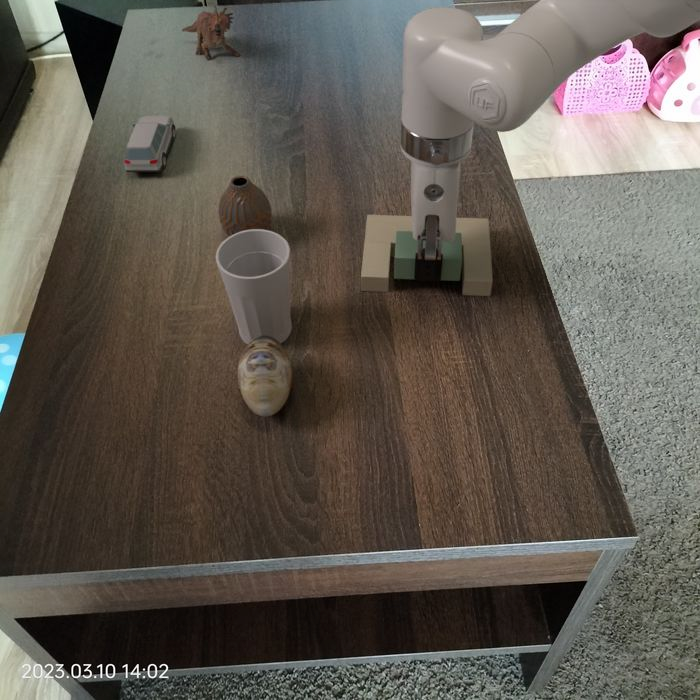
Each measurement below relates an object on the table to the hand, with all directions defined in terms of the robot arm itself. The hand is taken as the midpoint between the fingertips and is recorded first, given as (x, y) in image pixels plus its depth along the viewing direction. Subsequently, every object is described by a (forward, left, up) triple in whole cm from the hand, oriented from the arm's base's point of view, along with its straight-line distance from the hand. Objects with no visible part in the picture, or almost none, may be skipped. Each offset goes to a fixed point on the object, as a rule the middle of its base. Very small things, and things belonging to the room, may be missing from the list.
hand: (427, 262), depth 90 cm
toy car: (+42, -25, -3) cm, 49 cm away
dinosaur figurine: (+39, -57, -3) cm, 69 cm away
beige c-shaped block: (0, -3, -3) cm, 4 cm away
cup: (+19, +10, -3) cm, 22 cm away
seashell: (+17, +20, -3) cm, 26 cm away
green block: (0, 0, -1) cm, 1 cm away
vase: (+24, -7, -3) cm, 25 cm away
